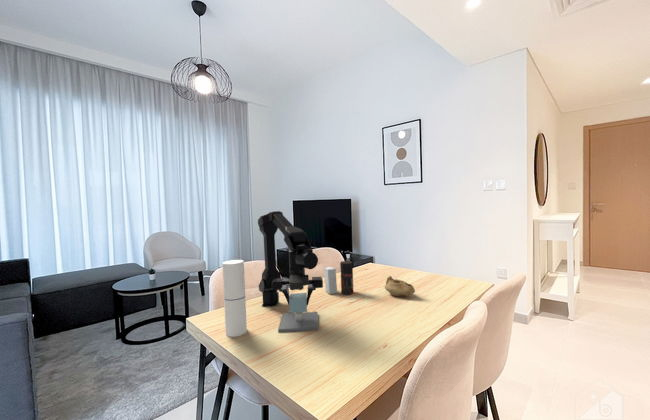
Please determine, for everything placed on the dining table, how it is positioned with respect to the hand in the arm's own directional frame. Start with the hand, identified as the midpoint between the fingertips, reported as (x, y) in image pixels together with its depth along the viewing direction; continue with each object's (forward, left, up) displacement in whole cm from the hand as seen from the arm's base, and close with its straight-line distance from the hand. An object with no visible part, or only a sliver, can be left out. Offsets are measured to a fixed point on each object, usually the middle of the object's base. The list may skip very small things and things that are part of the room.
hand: (298, 305), depth 107 cm
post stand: (0, 0, -6) cm, 6 cm away
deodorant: (+22, +32, -7) cm, 39 cm away
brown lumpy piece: (+46, +25, -7) cm, 53 cm away
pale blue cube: (0, 0, -1) cm, 1 cm away
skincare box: (+14, +34, -7) cm, 37 cm away
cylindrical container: (-22, -5, -7) cm, 24 cm away
